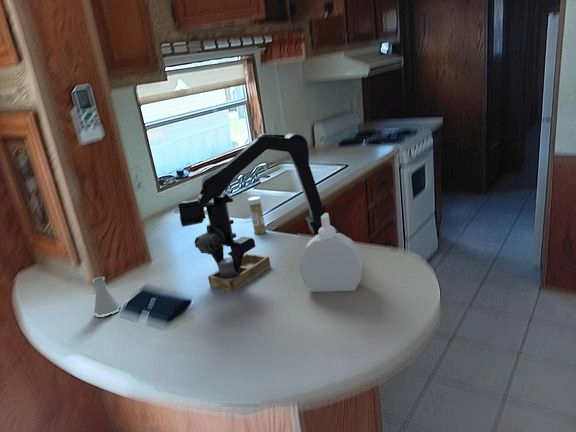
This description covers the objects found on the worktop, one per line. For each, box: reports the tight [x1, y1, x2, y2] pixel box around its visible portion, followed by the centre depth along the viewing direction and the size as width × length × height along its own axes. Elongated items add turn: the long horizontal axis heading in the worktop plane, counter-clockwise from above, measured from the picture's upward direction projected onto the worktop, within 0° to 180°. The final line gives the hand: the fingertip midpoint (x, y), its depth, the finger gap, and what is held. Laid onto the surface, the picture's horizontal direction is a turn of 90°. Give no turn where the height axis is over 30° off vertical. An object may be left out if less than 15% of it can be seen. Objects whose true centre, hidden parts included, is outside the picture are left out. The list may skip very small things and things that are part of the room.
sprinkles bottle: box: [247, 196, 267, 235], centre depth 173 cm, size 5×5×13 cm
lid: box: [216, 256, 241, 279], centre depth 135 cm, size 6×6×4 cm
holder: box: [207, 253, 271, 293], centre depth 139 cm, size 9×17×3 cm, turn 145°
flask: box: [91, 276, 120, 315], centre depth 129 cm, size 7×7×10 cm
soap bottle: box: [299, 212, 364, 293], centre depth 122 cm, size 16×5×20 cm, turn 78°
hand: (229, 270), depth 136 cm, fingers closed on lid, 6 cm apart
